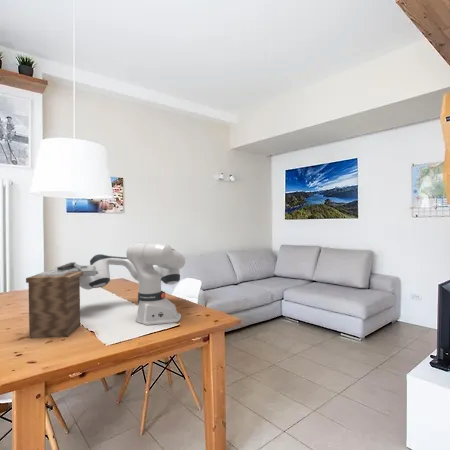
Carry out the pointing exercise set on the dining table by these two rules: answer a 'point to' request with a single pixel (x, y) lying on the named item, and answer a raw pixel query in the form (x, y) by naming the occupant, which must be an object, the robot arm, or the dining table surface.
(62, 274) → the turner
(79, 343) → the dining table surface
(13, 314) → the dining table surface
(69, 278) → the stand
